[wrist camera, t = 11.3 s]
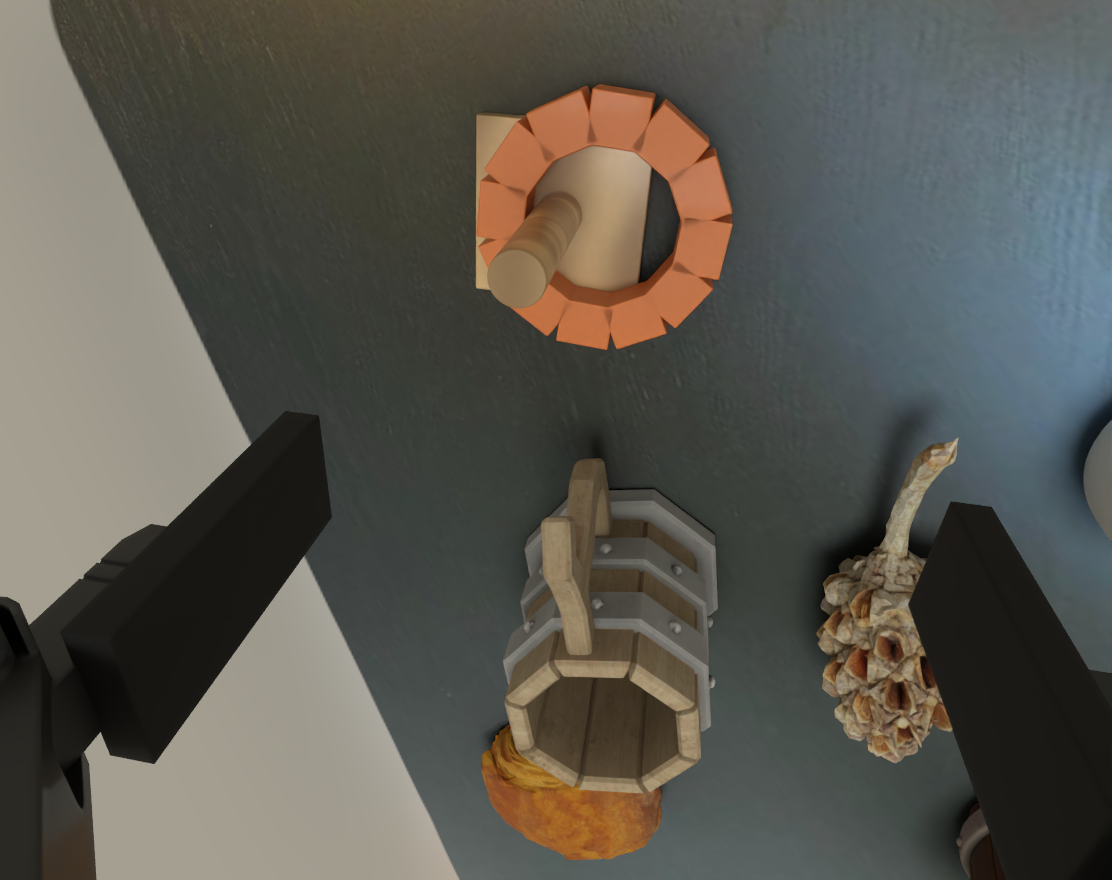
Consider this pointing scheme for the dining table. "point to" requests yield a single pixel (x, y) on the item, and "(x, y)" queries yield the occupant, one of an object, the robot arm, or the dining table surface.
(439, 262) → the dining table surface
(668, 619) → the tankard
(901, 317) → the dining table surface
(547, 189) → the rack
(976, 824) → the flowerpot
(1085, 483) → the teacup
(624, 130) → the ring
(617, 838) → the croissant
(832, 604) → the pine cone
